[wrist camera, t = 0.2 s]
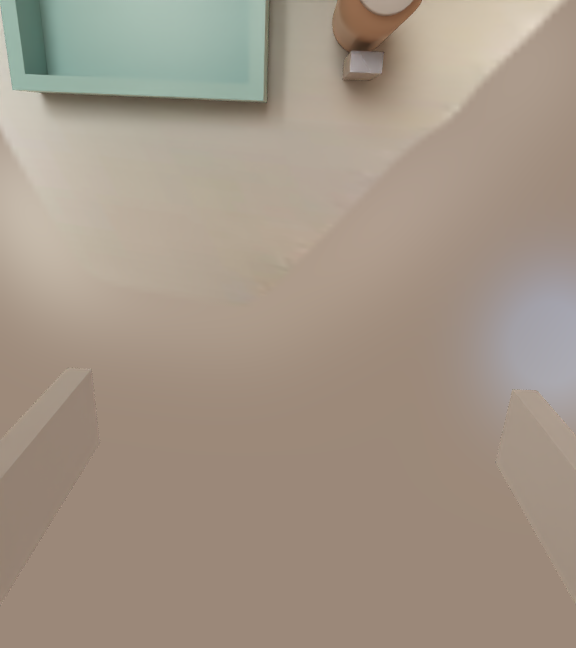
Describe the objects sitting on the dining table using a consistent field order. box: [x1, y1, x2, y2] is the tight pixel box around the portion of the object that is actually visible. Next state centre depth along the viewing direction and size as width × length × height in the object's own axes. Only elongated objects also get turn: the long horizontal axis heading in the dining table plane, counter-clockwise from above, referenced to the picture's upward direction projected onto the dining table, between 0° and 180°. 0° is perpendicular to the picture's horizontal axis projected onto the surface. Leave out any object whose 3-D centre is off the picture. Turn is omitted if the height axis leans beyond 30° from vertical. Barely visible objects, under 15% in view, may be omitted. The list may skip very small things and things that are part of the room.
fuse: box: [332, 0, 422, 52], centre depth 30 cm, size 4×4×13 cm
